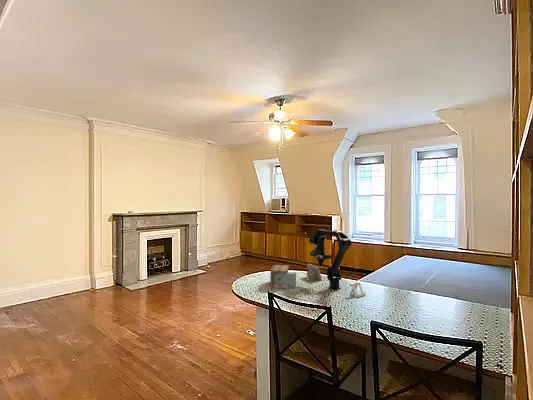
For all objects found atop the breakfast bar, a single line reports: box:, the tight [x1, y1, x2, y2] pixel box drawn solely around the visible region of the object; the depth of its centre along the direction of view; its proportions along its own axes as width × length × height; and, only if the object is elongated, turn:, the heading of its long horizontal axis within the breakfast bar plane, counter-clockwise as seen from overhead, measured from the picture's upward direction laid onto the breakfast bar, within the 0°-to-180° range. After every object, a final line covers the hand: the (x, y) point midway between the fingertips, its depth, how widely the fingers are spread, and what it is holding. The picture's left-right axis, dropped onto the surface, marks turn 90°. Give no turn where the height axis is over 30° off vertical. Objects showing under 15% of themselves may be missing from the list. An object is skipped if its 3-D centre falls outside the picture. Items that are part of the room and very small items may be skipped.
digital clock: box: [306, 263, 323, 281], centre depth 255 cm, size 16×9×11 cm, turn 11°
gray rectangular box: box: [274, 271, 297, 288], centre depth 232 cm, size 16×5×10 cm, turn 82°
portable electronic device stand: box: [349, 280, 367, 298], centre depth 212 cm, size 9×8×8 cm
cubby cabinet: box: [269, 264, 290, 289], centre depth 237 cm, size 14×18×12 cm
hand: (320, 266), depth 240 cm, fingers closed
